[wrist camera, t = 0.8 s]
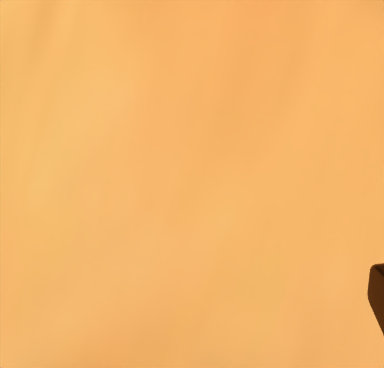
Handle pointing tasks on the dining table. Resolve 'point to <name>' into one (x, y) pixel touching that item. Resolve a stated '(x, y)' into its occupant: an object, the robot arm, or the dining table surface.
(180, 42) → the dining table surface
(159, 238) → the dining table surface
